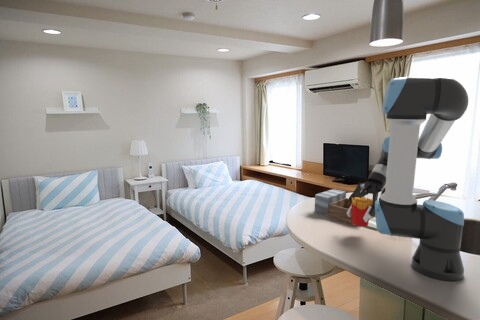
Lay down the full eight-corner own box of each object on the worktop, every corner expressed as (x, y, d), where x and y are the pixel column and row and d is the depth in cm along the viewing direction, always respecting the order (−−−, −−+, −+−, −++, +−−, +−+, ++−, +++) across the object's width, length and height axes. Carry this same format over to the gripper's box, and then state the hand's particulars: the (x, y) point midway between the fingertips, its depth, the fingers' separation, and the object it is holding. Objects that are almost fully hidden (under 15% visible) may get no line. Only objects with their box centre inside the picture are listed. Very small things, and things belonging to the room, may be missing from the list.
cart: (376, 230, 139) (378, 209, 137) (314, 212, 163) (315, 194, 162) (392, 221, 150) (394, 202, 149) (332, 205, 175) (333, 189, 173)
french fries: (350, 224, 133) (351, 198, 131) (350, 221, 137) (351, 195, 135) (371, 227, 130) (373, 199, 129) (370, 224, 134) (372, 197, 132)
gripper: (404, 185, 132) (381, 229, 125) (362, 177, 148) (339, 216, 141) (399, 174, 128) (375, 219, 121) (356, 168, 144) (333, 207, 137)
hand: (356, 217), depth 131 cm, fingers closed on french fries, 7 cm apart
